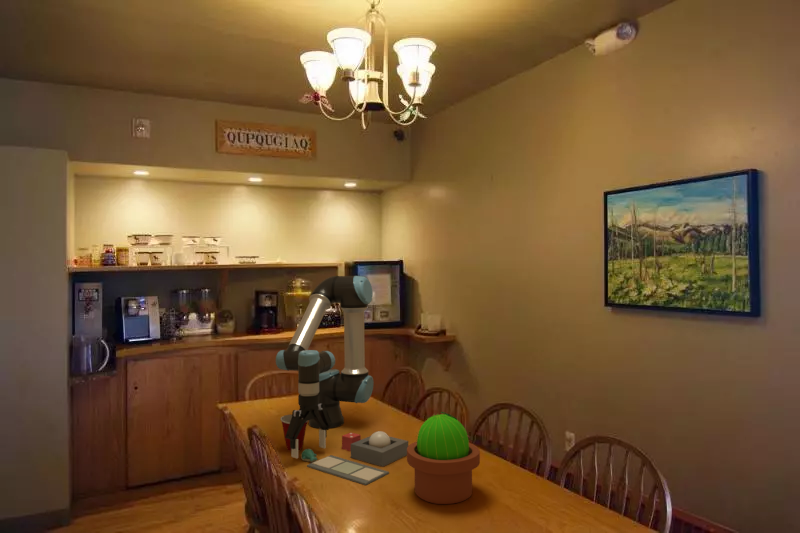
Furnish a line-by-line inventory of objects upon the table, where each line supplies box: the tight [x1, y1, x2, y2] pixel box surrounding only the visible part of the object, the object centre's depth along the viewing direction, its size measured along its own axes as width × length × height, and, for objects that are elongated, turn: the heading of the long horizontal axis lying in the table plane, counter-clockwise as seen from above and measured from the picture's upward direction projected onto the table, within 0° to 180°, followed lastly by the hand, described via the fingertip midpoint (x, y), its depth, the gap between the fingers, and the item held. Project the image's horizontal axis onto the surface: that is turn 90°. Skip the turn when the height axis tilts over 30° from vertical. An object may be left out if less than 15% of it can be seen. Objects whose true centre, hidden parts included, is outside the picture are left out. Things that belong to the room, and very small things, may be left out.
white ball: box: [369, 430, 391, 449], centre depth 207 cm, size 8×8×8 cm
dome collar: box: [350, 435, 409, 467], centre depth 207 cm, size 15×15×5 cm
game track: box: [306, 454, 390, 486], centre depth 194 cm, size 12×27×1 cm, turn 53°
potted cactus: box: [406, 411, 481, 505], centre depth 175 cm, size 22×22×25 cm
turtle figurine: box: [300, 448, 319, 463], centre depth 204 cm, size 6×7×4 cm
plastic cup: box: [280, 414, 309, 452], centre depth 216 cm, size 11×11×12 cm
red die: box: [341, 432, 362, 452], centre depth 216 cm, size 5×5×5 cm
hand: (308, 452), depth 205 cm, fingers open, 13 cm apart
